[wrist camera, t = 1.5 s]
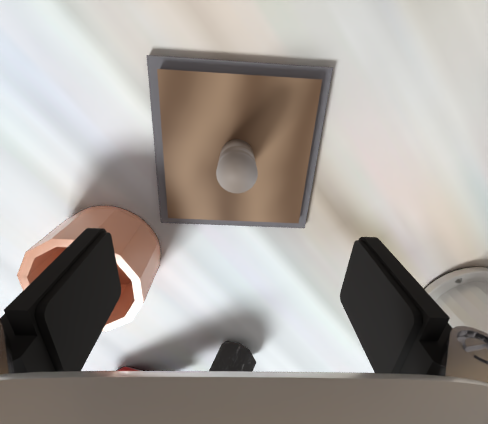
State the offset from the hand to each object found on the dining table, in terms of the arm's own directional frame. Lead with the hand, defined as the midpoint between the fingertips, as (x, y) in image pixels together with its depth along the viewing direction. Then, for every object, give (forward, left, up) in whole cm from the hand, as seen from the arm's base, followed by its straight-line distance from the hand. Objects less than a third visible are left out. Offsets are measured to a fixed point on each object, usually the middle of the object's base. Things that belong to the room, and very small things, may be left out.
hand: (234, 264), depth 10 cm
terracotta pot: (+14, +12, -18) cm, 26 cm away
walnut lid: (0, 0, -18) cm, 18 cm away
